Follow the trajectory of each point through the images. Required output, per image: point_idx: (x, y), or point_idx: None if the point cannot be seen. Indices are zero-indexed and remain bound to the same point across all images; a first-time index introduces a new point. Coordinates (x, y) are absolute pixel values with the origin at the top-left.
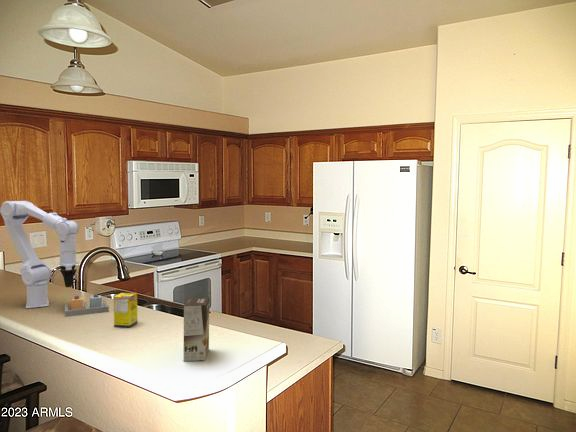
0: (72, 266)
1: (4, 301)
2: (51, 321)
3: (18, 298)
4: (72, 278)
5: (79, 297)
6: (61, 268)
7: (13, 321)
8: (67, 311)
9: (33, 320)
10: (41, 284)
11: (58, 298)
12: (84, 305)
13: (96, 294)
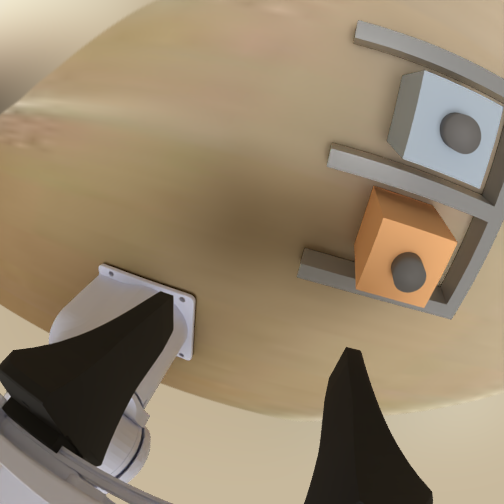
0: (62, 414)
1: None
2: (457, 354)
3: (52, 312)
4: (380, 424)
5: (382, 238)
6: (102, 452)
7: None
8: (455, 309)
9: (388, 387)
10: (134, 395)
11: (72, 216)
12: (380, 179)
13: (470, 131)
